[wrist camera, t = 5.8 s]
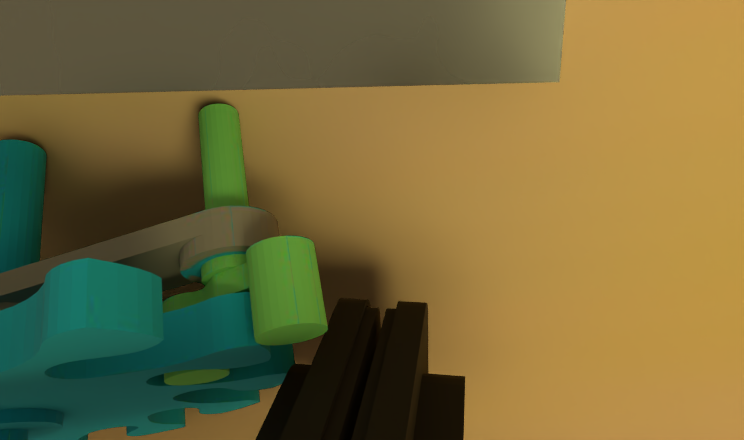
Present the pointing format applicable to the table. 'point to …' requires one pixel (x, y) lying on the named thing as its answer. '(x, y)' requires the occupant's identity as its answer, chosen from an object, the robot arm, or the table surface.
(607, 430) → the table surface
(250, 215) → the gear
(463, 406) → the robot arm
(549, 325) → the table surface
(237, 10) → the rail
